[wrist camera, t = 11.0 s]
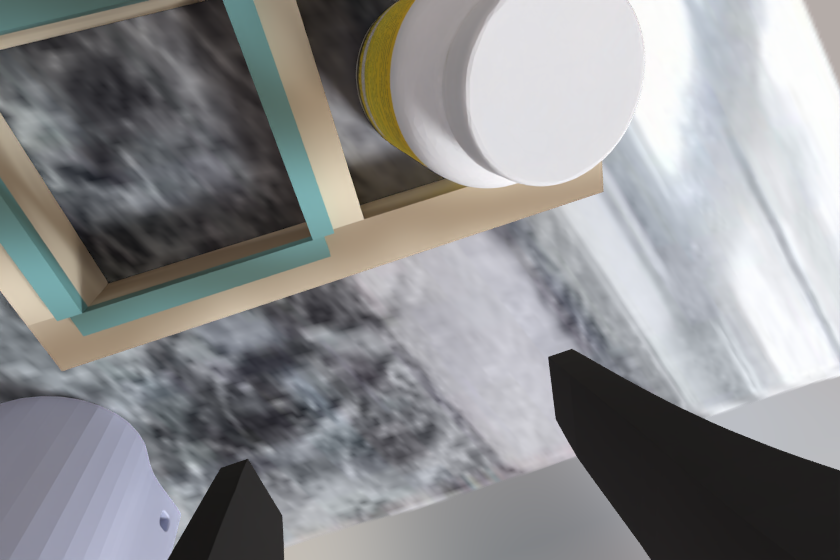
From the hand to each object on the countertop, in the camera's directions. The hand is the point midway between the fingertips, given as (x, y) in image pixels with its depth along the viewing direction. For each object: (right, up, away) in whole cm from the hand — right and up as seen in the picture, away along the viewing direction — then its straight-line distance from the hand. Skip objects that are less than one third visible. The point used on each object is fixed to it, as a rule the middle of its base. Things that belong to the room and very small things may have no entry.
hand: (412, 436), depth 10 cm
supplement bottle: (0, +11, +7) cm, 13 cm away
